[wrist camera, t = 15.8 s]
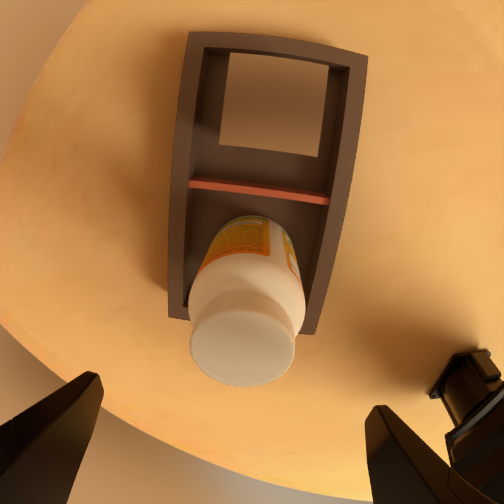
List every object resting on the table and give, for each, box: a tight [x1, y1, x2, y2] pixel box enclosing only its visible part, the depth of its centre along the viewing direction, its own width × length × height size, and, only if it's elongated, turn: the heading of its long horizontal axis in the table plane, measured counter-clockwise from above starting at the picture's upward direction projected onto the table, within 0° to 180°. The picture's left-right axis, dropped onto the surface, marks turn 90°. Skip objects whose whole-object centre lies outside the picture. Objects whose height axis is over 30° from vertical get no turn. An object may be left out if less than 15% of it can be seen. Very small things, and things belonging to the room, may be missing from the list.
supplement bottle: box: [188, 215, 305, 387], centre depth 15 cm, size 5×5×10 cm
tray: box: [168, 32, 368, 335], centre depth 17 cm, size 18×10×3 cm, turn 173°
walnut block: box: [219, 53, 329, 157], centre depth 13 cm, size 4×4×6 cm
